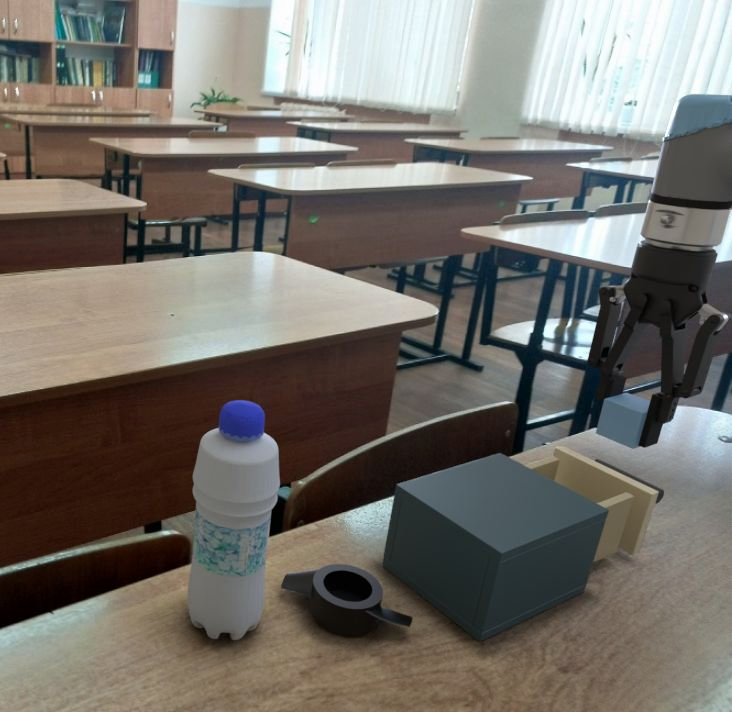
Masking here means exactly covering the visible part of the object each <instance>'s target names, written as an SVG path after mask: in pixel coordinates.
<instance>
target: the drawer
mask: <svg viewBox="0 0 732 712" xmlns="http://www.w3.org/2000/svg"><path fill="white" fill-rule="evenodd" d="M523 465H524V466H526V467H528V468H530V469H532V470H534V471H536V472H538V473H540V474H541V475H543V476H545V477H547V478H549V479H551V480H553V481H555V482H557V483H559V484H561V485H562V486H564V487H566V488H568V489H570V490H572V491H574V492H576V493H578V494H580V495H582V496H583V497H585V498H587V499H589V500H591V501H593V502H595V503H597V504H599V505H601V506H603V507H604V508H606V509H608V510H609V512H608V515H607V518H606V522H605V525H604V528H603V531H602V535H601V538H600V541H599V545H598V548H597V551H596V554H595V558H594V561H593V563H596V562H598V561H600V560H602V559H604V558H606V557H608V556H611V555H613V554H615V553H617V552H618V549H620V550H621V551H623V552H625V553H627V554H629V555H631V556H635V555H636V554H638V553H640V551H641V548H642V544H643V541H644V538H645V536H646V532H647V529H648V526H649V524H650V520H651V518H652V514H653V512H654V509H655V506H656V504H659V503H660V502H661V501H662V500H663V498H664V494H665V490H664V489H663V488H660V487H658V486H657V485H654V484H653V483H650V482H648V481H646V480H645V479H642V478H640V477H637V476H635V475H633V474H631V473H629V472H627V471H625V470H623V469H621V468H618V467H616V466H614V465H612V464H611V463H607V462H605V461H603V460H601V459H599V458H594V459H592V458H590V457H587V456H585V455H583V454H581V453H578V452H576V451H574V450H572V449H570V448H568V447H566V446H564V445H560V446H556V447H555V448H554V451H553V455H552V456H549V457H545V458H542V459H540V460H537V461H533V462H530V463H527V464H523Z"/></svg>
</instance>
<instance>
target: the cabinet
mask: <svg viewBox="0 0 732 712" xmlns="http://www.w3.org/2000/svg"><path fill="white" fill-rule="evenodd" d="M524 465H525V464H522V463H520V462H519V461H517V460H515V459H513V458H511V457H509V456H507V455H505V454H503V453H502V452H499V453H495V454H492V455H489V456H486V457H483V458H479V459H476V460H472V461H469V462H465V463H463V464H459V465H456V466H453V467H449V468H446V469H443V470H439V471H436V472H432V473H429V474H426V475H423V476H420V477H417V478H413V479H410V480H407V481H403V482H400V483H397V484H395V489H394V494H393V495H394V496H393V500H392V507H391V512H390V517H389V523H388V530H387V535H386V540H385V546H384V552H383V557H382V562H381V565H382V566H383V567H384V568H385V569H387V571H389V572H390V573H392V574H393V575H394V576H396V577H397V578H398V579H399V580H400V581H402V582H403V583H404V584H405V585H407V586H408V587H409V588H410V589H412V590H413V591H414V592H415V593H417V594H418V595H419V596H421V597H422V598H423V599H425V601H427V602H428V603H430V604H431V605H432V606H433V607H434V608H436V609H437V610H438V611H440V612H441V613H442V614H443V615H445V616H446V617H447V618H448V619H450V620H451V621H452V622H454V624H456V625H457V626H459V627H460V628H461V629H462V630H463V631H465V632H466V633H467V634H469V636H471V637H473V638H474V639H475V640H476V641H477V642H479V643H481V642H482V641H484V640H487V639H489V638H491V637H493V636H495V635H498V634H499V633H501V632H503V631H505V630H507V629H510V628H512V627H513V626H515V625H518V624H520V623H522V622H524V621H526V620H528V619H531V618H533V617H534V616H537V615H539V614H541V613H542V612H545V611H547V610H549V609H551V608H553V607H555V606H557V605H559V604H561V603H563V602H565V601H567V600H569V599H572V598H574V597H576V596H578V595H580V594H583V593H584V592H585V590H586V587H587V584H588V580H589V577H590V575H591V570H592V567H593V565H594V562H593V561H594V558H595V554H596V551H597V548H598V545H599V541H600V538H601V535H602V531H603V528H604V525H605V522H606V518H607V515H608V512H609V510H608V509H606V508H604V507H603V506H601V505H599V504H597V503H595V502H593V501H591V500H589V499H587V498H585V497H583V496H582V495H580V494H578V493H576V492H574V491H572V490H570V489H568V488H566V487H564V486H562V485H561V484H559V483H557V482H555V481H553V480H551V479H549V478H547V477H545V476H543V475H541V474H540V473H538V472H536V471H534V470H532V469H530V468H528V467H526V466H524Z"/></svg>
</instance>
